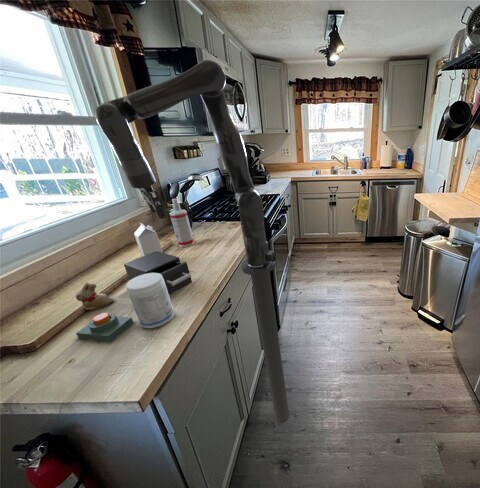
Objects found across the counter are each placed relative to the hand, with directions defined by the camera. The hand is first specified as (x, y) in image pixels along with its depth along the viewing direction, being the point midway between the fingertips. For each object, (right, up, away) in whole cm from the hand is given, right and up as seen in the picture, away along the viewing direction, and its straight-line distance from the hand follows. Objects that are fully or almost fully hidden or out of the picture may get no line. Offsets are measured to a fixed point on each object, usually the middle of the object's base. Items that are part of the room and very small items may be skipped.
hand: (159, 214), depth 95 cm
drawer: (+2, -27, +4) cm, 28 cm away
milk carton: (-18, -20, +26) cm, 37 cm away
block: (-6, -37, -16) cm, 41 cm away
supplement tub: (+8, -35, -12) cm, 38 cm away
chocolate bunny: (-19, -33, -4) cm, 38 cm away
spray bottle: (-14, -11, +46) cm, 49 cm away
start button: (-6, -34, -17) cm, 39 cm away
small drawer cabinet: (-5, -27, +8) cm, 29 cm away
